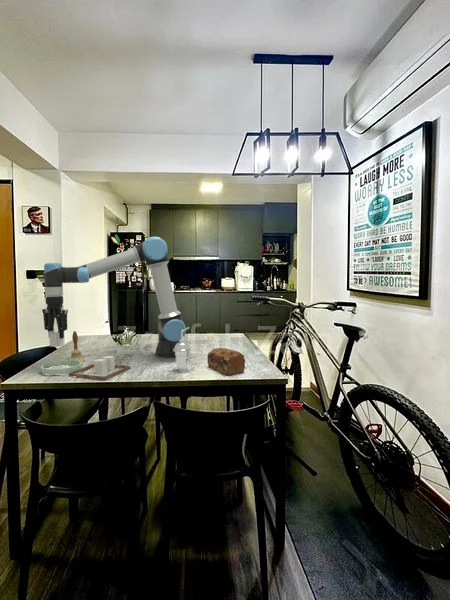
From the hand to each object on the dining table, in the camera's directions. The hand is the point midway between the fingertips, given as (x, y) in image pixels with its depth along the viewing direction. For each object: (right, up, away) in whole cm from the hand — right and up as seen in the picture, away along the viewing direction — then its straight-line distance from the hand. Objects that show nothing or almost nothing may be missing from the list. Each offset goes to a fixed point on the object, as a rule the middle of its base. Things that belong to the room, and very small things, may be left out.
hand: (56, 344), depth 170 cm
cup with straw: (+60, -12, -2) cm, 62 cm away
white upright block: (+24, -12, +2) cm, 27 cm away
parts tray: (+22, -12, -4) cm, 26 cm away
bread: (+80, -12, -1) cm, 81 cm away
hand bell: (+2, -11, +17) cm, 21 cm away
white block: (+22, -12, -4) cm, 26 cm away
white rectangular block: (0, 0, 0) cm, 0 cm away
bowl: (+2, -12, 0) cm, 13 cm away
